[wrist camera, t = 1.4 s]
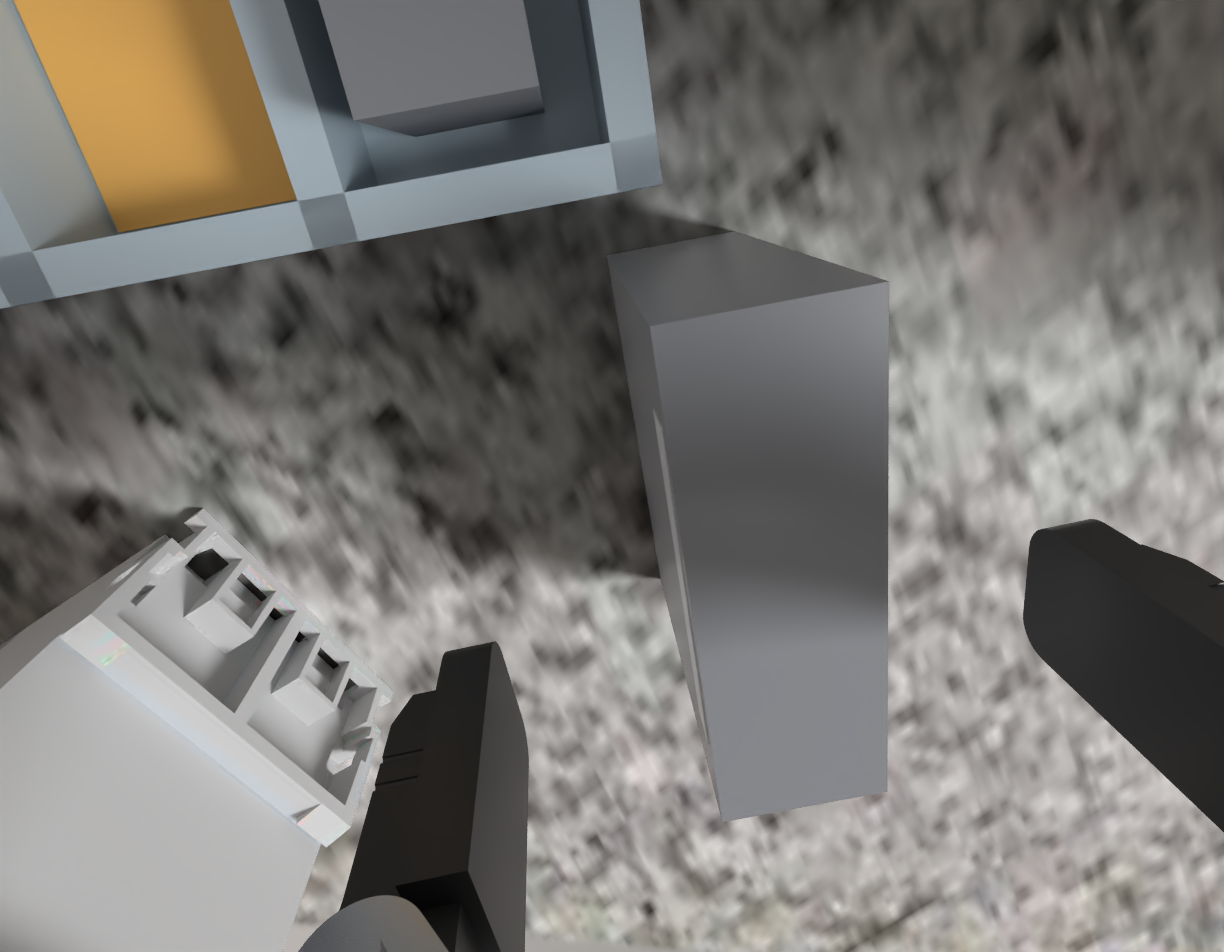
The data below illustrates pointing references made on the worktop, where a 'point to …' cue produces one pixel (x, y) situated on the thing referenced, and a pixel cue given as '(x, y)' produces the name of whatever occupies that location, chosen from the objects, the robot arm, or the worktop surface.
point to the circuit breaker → (174, 758)
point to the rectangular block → (767, 506)
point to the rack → (298, 126)
